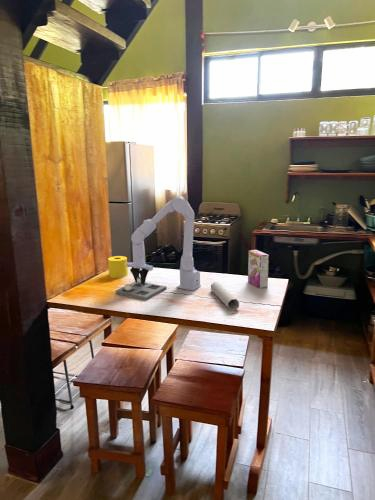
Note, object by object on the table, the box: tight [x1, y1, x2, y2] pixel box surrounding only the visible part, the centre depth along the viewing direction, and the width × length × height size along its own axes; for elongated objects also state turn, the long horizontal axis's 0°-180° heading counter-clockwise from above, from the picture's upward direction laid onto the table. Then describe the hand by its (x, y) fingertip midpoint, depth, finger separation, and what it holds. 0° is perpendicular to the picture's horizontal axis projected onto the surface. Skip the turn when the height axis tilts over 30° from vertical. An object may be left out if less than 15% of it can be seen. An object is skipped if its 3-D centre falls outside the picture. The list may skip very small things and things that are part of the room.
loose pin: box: [137, 276, 144, 287], centre depth 173 cm, size 3×3×4 cm
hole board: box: [114, 281, 167, 301], centre depth 168 cm, size 18×16×2 cm
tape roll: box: [107, 255, 129, 279], centre depth 193 cm, size 10×10×9 cm
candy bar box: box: [247, 249, 270, 289], centre depth 174 cm, size 11×5×16 cm, turn 22°
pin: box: [124, 283, 132, 293], centre depth 166 cm, size 3×3×4 cm
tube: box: [210, 281, 240, 311], centre depth 157 cm, size 5×5×25 cm
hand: (140, 282), depth 173 cm, fingers closed on loose pin, 3 cm apart
